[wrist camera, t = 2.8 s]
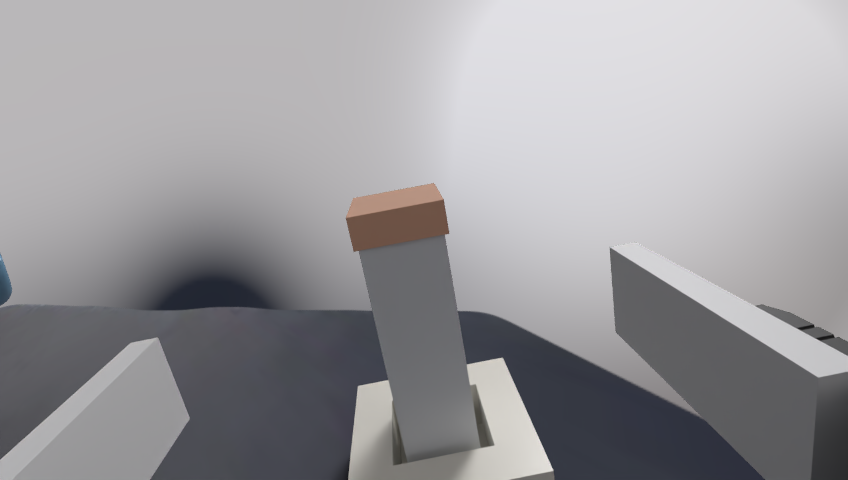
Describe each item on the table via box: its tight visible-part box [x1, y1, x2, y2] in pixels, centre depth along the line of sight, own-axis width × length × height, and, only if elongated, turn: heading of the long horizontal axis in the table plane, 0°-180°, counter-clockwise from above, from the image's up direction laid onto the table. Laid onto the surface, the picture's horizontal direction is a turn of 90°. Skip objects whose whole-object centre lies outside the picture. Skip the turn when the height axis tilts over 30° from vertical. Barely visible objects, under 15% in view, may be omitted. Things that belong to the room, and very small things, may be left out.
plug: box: [346, 183, 481, 463], centre depth 25 cm, size 4×4×16 cm
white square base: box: [348, 358, 554, 480], centre depth 27 cm, size 10×10×4 cm
